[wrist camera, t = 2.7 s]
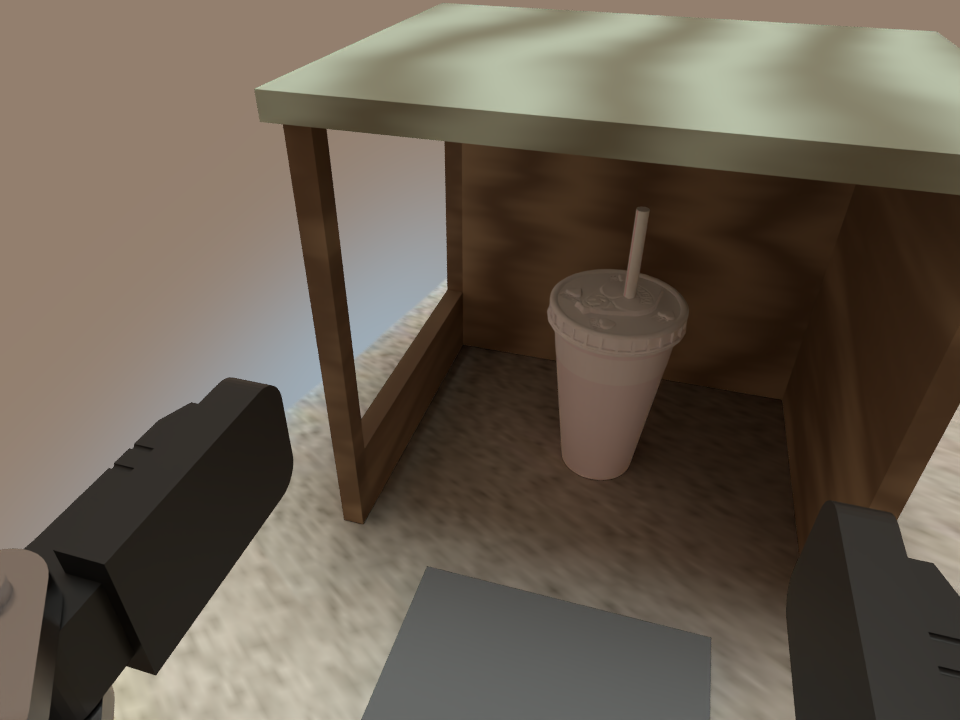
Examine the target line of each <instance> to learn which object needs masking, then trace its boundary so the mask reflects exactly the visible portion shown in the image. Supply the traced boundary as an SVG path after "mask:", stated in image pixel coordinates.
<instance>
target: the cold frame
mask: <svg viewBox="0 0 960 720" xmlns="http://www.w3.org/2000/svg"><path fill="white" fill-rule="evenodd" d="M254 90H255V96H256V102H257V108H258V113H259V119H260V122H267V123H277V124H283V128H284V134H285V141H286V148H287V154H288V160H289V167H290V173H291V179H292V186H293V193H294V199H295V206H296V212H297V218H298V224H299V231H300V238H301V244H302V250H303V257H304V264H305V269H306V276H307V283H308V289H309V296H310V302H311V308H312V314H313V321H314V328H315V334H316V341H317V347H318V354H319V360H320V366H321V372H322V380H323V386H324V392H325V399H326V405H327V412H328V418H329V425H330V431H331V438H332V444H333V450H334V457H335V463H336V470H337V476H338V483H339V489H340V496H341V502H342V508H343V515H344V520H349V521H353V522H357V523H361V524H364V522H365V520H366V518H367V517H368V515H369V513H370V511H371V509H372V508H373V506H374V504H375V502H376V500H377V499H378V497H379V495H380V493H381V491H382V490H383V488H384V486H385V484H386V482H387V481H388V479H389V477H390V475H391V473H392V472H393V470H394V468H395V466H396V464H397V462H398V461H399V459H400V457H401V455H402V453H403V452H404V450H405V448H406V446H407V444H408V443H409V441H410V439H411V437H412V435H413V434H414V432H415V430H416V428H417V426H418V425H419V423H420V421H421V419H422V417H423V416H424V414H425V412H426V410H427V408H428V407H429V405H430V403H431V401H432V399H433V398H434V396H435V394H436V392H437V390H438V389H439V387H440V385H441V383H442V381H443V380H444V378H445V376H446V374H447V372H448V371H449V369H450V367H451V365H452V363H453V362H454V360H455V358H456V356H457V354H458V353H459V351H460V349H461V347H462V345H468V346H474V347H479V348H485V349H491V350H497V351H503V352H508V353H514V354H520V355H526V356H531V357H537V358H543V359H549V360H554V361H556V349H555V331H554V330H553V328H552V326H551V325H550V323H549V322H548V315H547V310H548V307H549V304H550V294H551V291H552V289H553V288H554V287H555V285H556V284H558V283H559V282H560V281H561V280H563V279H565V278H566V277H568V276H571V275H573V274H576V273H580V272H584V271H589V270H597V269H617V270H626V271H627V268H628V262H629V255H630V249H631V242H632V235H633V229H634V222H635V216H636V209H637V208H638V207H647V208H649V209H650V212H649V218H648V224H647V230H646V236H645V242H644V249H643V255H642V261H641V267H640V273H641V274H645V275H648V276H651V277H654V278H657V279H659V280H661V281H663V282H665V283H667V284H668V285H670V286H671V287H673V288H674V289H676V290H677V291H678V292H679V293H680V294H681V295H682V296H683V297H684V299H685V300H686V302H687V305H688V308H689V314H688V319H687V325H686V333H685V335H684V337H683V338H682V340H681V341H680V342H679V343H678V344H676V345H675V346H674V347H673V349H672V352H671V355H670V358H669V360H668V363H667V366H666V368H665V371H664V373H663V376H662V379H664V380H670V381H676V382H682V383H687V384H693V385H699V386H705V387H710V388H716V389H722V390H728V391H734V392H739V393H745V394H751V395H757V396H762V397H768V398H774V399H780V400H782V404H783V413H784V422H785V431H786V440H787V449H788V458H789V467H790V476H791V485H792V494H793V503H794V512H795V521H796V530H797V539H798V548H799V557H800V554H801V552H802V550H803V547H804V545H805V543H806V541H807V538H808V536H809V534H810V532H811V529H812V527H813V525H814V523H815V520H816V518H817V516H818V514H819V511H820V509H821V507H822V506H823V504H824V503H825V502H826V501H828V500H832V501H837V502H842V503H847V504H852V505H857V506H862V507H866V508H871V509H876V510H881V511H886V512H890V513H892V514H893V515H894V516H895V518H896V520H897V519H898V517H899V516H900V514H901V512H902V510H903V508H904V506H905V504H906V502H907V501H908V499H909V497H910V495H911V493H912V491H913V489H914V488H915V486H916V484H917V482H918V480H919V478H920V476H921V475H922V473H923V471H924V469H925V467H926V465H927V463H928V462H929V460H930V458H931V456H932V454H933V452H934V450H935V449H936V447H937V445H938V443H939V441H940V439H941V437H942V436H943V434H944V432H945V430H946V428H947V426H948V424H949V423H950V421H951V419H952V417H953V415H954V413H955V411H956V410H957V408H958V406H959V404H960V48H958V47H957V46H956V45H954V44H953V43H952V42H950V41H949V40H948V39H946V38H945V37H943V36H942V35H941V34H939V33H938V32H933V31H916V30H899V29H881V28H863V27H847V26H829V25H828V26H827V25H812V24H795V23H794V24H793V23H777V22H760V21H743V20H725V19H708V18H690V17H673V16H656V15H639V14H621V13H603V12H586V11H569V10H552V9H533V8H516V7H500V6H499V7H498V6H482V5H465V4H448V3H442V4H439V5H437V6H435V7H433V8H431V9H428V10H426V11H424V12H422V13H420V14H417V15H415V16H413V17H411V18H409V19H406V20H404V21H402V22H400V23H398V24H396V25H393V26H391V27H389V28H387V29H384V30H382V31H380V32H378V33H376V34H374V35H371V36H369V37H367V38H365V39H363V40H360V41H358V42H356V43H354V44H352V45H350V46H347V47H345V48H343V49H341V50H338V51H336V52H334V53H332V54H330V55H328V56H325V57H323V58H321V59H319V60H317V61H314V62H312V63H310V64H308V65H306V66H304V67H301V68H299V69H297V70H295V71H293V72H290V73H288V74H286V75H284V76H281V77H279V78H277V79H275V80H273V81H271V82H269V83H266V84H264V85H262V86H260V87H257V88H255V89H254ZM326 129H333V130H343V131H353V132H362V133H372V134H381V135H391V136H400V137H410V138H419V139H429V140H439V141H445V183H446V184H445V186H446V232H447V233H446V236H447V286H448V290H447V291H446V293H445V294H444V296H443V297H442V299H441V300H440V302H439V303H438V305H437V306H436V308H435V309H434V311H433V312H432V314H431V315H430V317H429V318H428V320H427V321H426V323H425V324H424V326H423V327H422V329H421V330H420V332H419V333H418V335H417V336H416V338H415V339H414V341H413V342H412V344H411V345H410V347H409V348H408V350H407V351H406V353H405V354H404V356H403V357H402V359H401V360H400V362H399V363H398V365H397V366H396V368H395V369H394V371H393V372H392V374H391V375H390V377H389V378H388V380H387V381H386V383H385V384H384V386H383V387H382V389H381V390H380V392H379V393H378V395H377V396H376V398H375V399H374V401H373V402H372V404H371V405H370V407H369V408H368V410H367V411H366V413H365V414H364V416H363V418H362V419H361V415H360V406H359V398H358V390H357V381H356V373H355V365H354V356H353V348H352V340H351V331H350V323H349V314H348V306H347V297H346V290H345V281H344V272H343V264H342V256H341V247H340V239H339V230H338V222H337V213H336V205H335V198H334V188H333V180H332V172H331V163H330V155H329V146H328V139H327V130H326Z"/></svg>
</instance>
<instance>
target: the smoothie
mask: <svg viewBox="0 0 960 720" xmlns="http://www.w3.org/2000/svg"><path fill="white" fill-rule="evenodd" d="M649 212H650V209H649V208H647V207H638V208H637V209H636V216H635V222H634V229H633V235H632V242H631V249H630V255H629V262H628V268H627V271H626V270H617V269H597V270H589V271H584V272H580V273H576V274H573V275H571V276H568V277H566V278H565V279H563V280H561V281H560V282H559V283H558V284H556V285H555V287H554V288H553V289H552V291H551V294H550V304H549V307H548V310H547V315H548V322H549V323H550V325H551V326H552V328H553V330H554V331H555V349H556V362H557V380H558V398H559V416H560V434H561V452H562V458H563V461H564V463H565V464H566V465H567V467H568V468H569V469H571V470H572V471H573V472H575V473H576V474H578V475H580V476H582V477H585V478H589V479H594V480H608V479H613V478H616V477H618V476H620V475H622V474H623V473H624V472H625V471H626V470H627V469H628V467H629V465H630V463H631V460H632V457H633V454H634V452H635V449H636V446H637V444H638V441H639V438H640V436H641V433H642V430H643V427H644V425H645V422H646V419H647V417H648V414H649V411H650V409H651V406H652V403H653V400H654V398H655V395H656V392H657V390H658V387H659V384H660V381H661V379H662V376H663V373H664V371H665V368H666V366H667V363H668V360H669V358H670V355H671V352H672V349H673V347H674V346H675V345H676V344H678V343H679V342H680V341H681V340H682V338H683V337H684V335H685V333H686V325H687V319H688V314H689V308H688V305H687V302H686V300H685V299H684V297H683V296H682V295H681V294H680V293H679V292H678V291H677V290H676V289H674V288H673V287H671V286H670V285H668V284H667V283H665V282H663V281H661V280H659V279H657V278H654V277H651V276H648V275H645V274H641V273H640V267H641V261H642V255H643V249H644V242H645V236H646V230H647V224H648V218H649Z"/></svg>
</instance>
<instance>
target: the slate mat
mask: <svg viewBox="0 0 960 720" xmlns="http://www.w3.org/2000/svg"><path fill="white" fill-rule="evenodd" d="M710 683H711V637H707V636H703V635H699V634H695V633H691V632H687V631H683V630H679V629H675V628H671V627H667V626H663V625H659V624H655V623H651V622H647V621H643V620H639V619H635V618H631V617H627V616H623V615H619V614H615V613H611V612H607V611H603V610H599V609H595V608H591V607H587V606H584V605H580V604H576V603H572V602H568V601H564V600H560V599H556V598H552V597H548V596H544V595H540V594H536V593H532V592H528V591H524V590H520V589H516V588H512V587H508V586H504V585H500V584H496V583H492V582H488V581H484V580H480V579H476V578H472V577H468V576H464V575H460V574H456V573H452V572H448V571H444V570H440V569H436V568H432V567H428V566H427V568H426V570H425V572H424V575H423V577H422V579H421V582H420V584H419V586H418V589H417V591H416V593H415V596H414V598H413V600H412V603H411V605H410V607H409V610H408V612H407V614H406V617H405V619H404V621H403V624H402V626H401V628H400V631H399V633H398V635H397V638H396V640H395V642H394V645H393V647H392V649H391V652H390V654H389V656H388V659H387V661H386V663H385V666H384V668H383V670H382V673H381V675H380V677H379V680H378V682H377V684H376V687H375V689H374V691H373V694H372V696H371V698H370V701H369V703H368V705H367V708H366V710H365V712H364V715H363V717H362V719H361V720H710Z"/></svg>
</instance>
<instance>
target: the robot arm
mask: <svg viewBox="0 0 960 720" xmlns="http://www.w3.org/2000/svg"><path fill="white" fill-rule="evenodd" d="M292 470H293V454H292V449H291V444H290V438H289V433H288V428H287V423H286V417H285V412H284V407H283V402H282V397H281V394H280V391H279V390H278V389H277V388H276V387H275V386H272V385H267V384H261V383H257V382H252V381H247V380H242V379H237V378H226V379H224V380H222V381H221V382H220V383H219V384H218V385H217V386H216V387H215V388H214V389H213V390H212V391H211V392H210V393H209V394H208V395H207V396H206V397H205V398H204V399H203V400H202V401H201V402H200V403H199V404H196V403H192V402H191V403H189V404H187V405H186V406H184V407H182V408H180V409H178V410H176V411H175V412H173V413H171V414H169V415H167V416H166V417H164V418H162V419H160V420H158V422H156V423H155V424H154V425H153V426H152V427H151V428H150V429H149V430H148V431H147V432H146V433H145V434H144V435H143V436H142V437H141V438H140V439H139V440H138V441H137V442H136V443H135V444H134V448H133V449H128V450H127V451H126V452H125V453H124V454H123V455H122V456H121V457H120V458H119V459H118V460H117V461H116V462H115V463H114V467H113V468H112V469H110V468H109V469H107V470H106V471H105V472H104V473H103V474H102V475H101V476H100V477H99V478H98V479H97V480H96V481H95V482H94V483H93V484H92V485H91V486H90V487H89V488H88V489H87V490H86V491H85V492H84V493H83V494H82V495H80V496H79V497H78V498H77V499H76V500H75V501H74V502H73V503H72V504H71V505H70V506H69V507H68V508H67V509H66V510H65V511H64V512H63V513H62V514H61V515H60V516H59V517H58V518H57V519H56V520H54V521H53V522H52V523H51V524H50V525H49V526H48V527H47V528H46V529H45V530H44V531H43V532H42V533H41V534H40V535H39V536H38V537H37V538H36V539H35V540H34V541H33V542H31V543H30V544H29V545H28V546H27V547H26V548H25V549H2V550H0V720H114V702H115V697H114V690H113V687H112V684H113V683H114V681H115V680H116V679H117V677H118V676H119V675H120V674H121V672H122V671H123V670H124V668H125V667H126V666H128V667H131V668H134V669H137V670H140V671H144V672H147V673H150V674H153V675H157V673H158V672H159V670H160V669H161V668H162V666H163V665H164V663H165V662H166V660H167V659H168V658H169V656H170V655H171V653H172V652H173V651H174V649H175V648H176V646H177V645H178V644H179V642H180V641H181V639H182V638H183V637H184V635H185V634H186V632H187V631H188V629H189V628H190V627H191V625H192V624H193V622H194V621H195V620H196V618H197V617H198V615H199V614H200V613H201V611H202V610H203V608H204V607H205V605H206V604H207V603H208V601H209V600H210V598H211V597H212V596H213V594H214V593H215V591H216V590H217V589H218V587H219V586H220V584H221V583H222V582H223V580H224V579H225V577H226V576H227V574H228V573H229V572H230V570H231V569H232V567H233V566H234V565H235V563H236V562H237V560H238V559H239V558H240V556H241V555H242V553H243V552H244V550H245V549H246V548H247V546H248V545H249V543H250V542H251V541H252V539H253V538H254V536H255V535H256V534H257V532H258V531H259V529H260V528H261V526H262V525H263V524H264V522H265V521H266V519H267V518H268V517H269V515H270V514H271V512H272V511H273V510H274V508H275V507H276V505H277V504H278V503H279V501H280V500H281V498H282V497H283V495H284V494H285V492H286V490H287V488H288V485H289V482H290V479H291V476H292ZM786 618H787V630H788V640H789V651H790V662H791V673H792V684H793V695H794V705H795V716H796V720H960V596H959V595H958V594H957V593H956V591H955V590H954V589H953V588H952V586H951V585H950V584H949V582H948V581H947V580H946V579H945V577H944V576H943V575H942V573H941V572H940V571H939V570H938V568H937V567H936V566H935V565H934V563H930V562H925V561H920V560H916V559H911V558H908V557H907V554H906V550H905V546H904V543H903V539H902V536H901V532H900V529H899V525H898V522H897V520H896V518H895V516H894V515H893V514H892V513H890V512H886V511H881V510H876V509H871V508H866V507H862V506H857V505H852V504H847V503H842V502H837V501H832V500H828V501H826V502H825V503H824V504H823V506H822V507H821V509H820V511H819V514H818V516H817V518H816V520H815V523H814V525H813V527H812V529H811V532H810V534H809V536H808V538H807V541H806V543H805V545H804V547H803V550H802V552H801V554H800V557H799V559H798V561H797V563H796V566H795V568H794V570H793V573H792V576H791V579H790V583H789V588H788V594H787V606H786Z"/></svg>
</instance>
